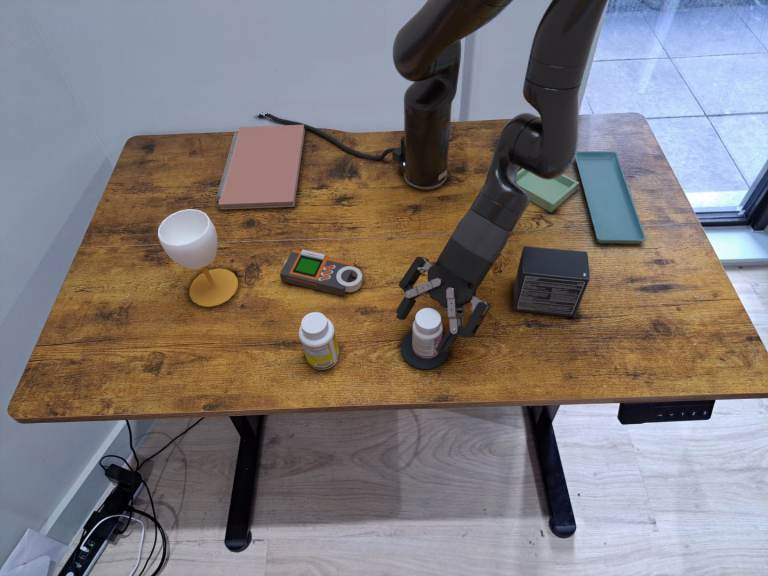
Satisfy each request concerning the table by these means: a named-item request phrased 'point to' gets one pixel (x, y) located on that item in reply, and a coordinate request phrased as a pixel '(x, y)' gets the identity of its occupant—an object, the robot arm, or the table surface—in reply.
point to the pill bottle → (427, 333)
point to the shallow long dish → (609, 198)
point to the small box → (550, 281)
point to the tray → (546, 189)
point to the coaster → (419, 361)
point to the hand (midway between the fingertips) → (419, 334)
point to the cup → (197, 255)
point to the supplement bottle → (319, 341)
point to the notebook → (262, 168)
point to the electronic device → (320, 272)
